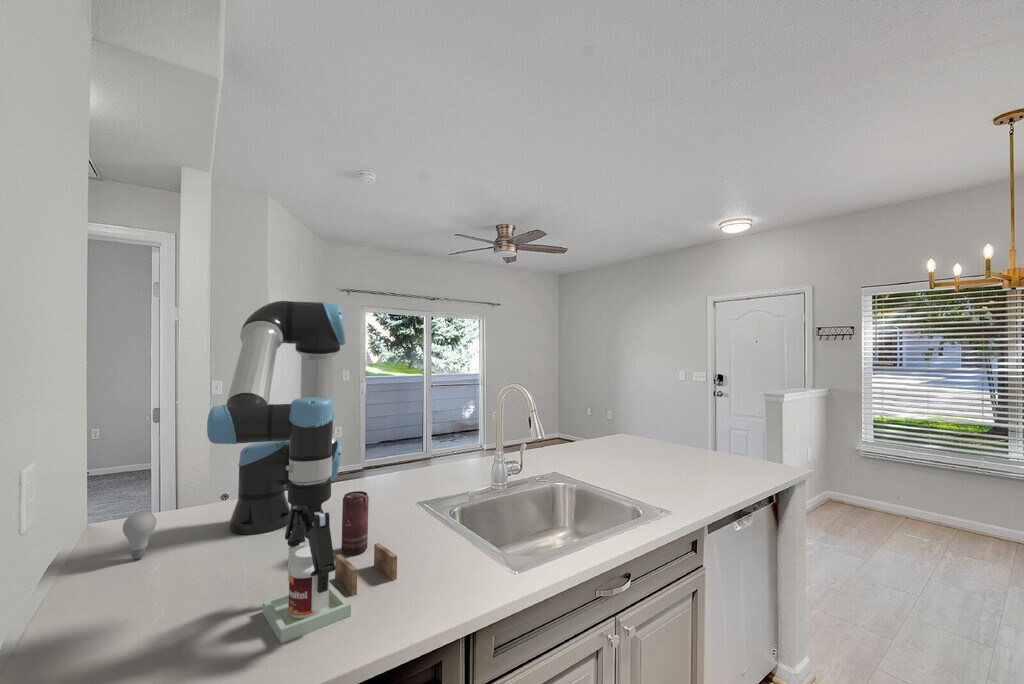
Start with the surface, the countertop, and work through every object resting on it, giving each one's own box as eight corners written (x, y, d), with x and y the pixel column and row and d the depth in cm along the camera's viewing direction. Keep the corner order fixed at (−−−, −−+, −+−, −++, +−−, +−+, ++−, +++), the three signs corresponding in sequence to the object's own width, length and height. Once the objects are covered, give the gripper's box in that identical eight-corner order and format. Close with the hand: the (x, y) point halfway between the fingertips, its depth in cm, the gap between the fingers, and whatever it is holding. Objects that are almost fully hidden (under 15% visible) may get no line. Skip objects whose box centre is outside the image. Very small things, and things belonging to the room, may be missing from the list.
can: (359, 557, 106) (361, 499, 106) (336, 554, 107) (337, 496, 108) (372, 546, 112) (374, 491, 112) (350, 544, 113) (351, 489, 114)
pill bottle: (280, 615, 81) (282, 554, 82) (307, 598, 87) (308, 542, 87) (305, 623, 79) (307, 561, 79) (331, 605, 85) (333, 547, 85)
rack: (334, 578, 96) (335, 555, 96) (377, 564, 103) (378, 542, 103) (352, 595, 89) (352, 570, 89) (396, 579, 96) (397, 556, 96)
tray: (262, 612, 83) (262, 601, 83) (326, 590, 91) (327, 579, 91) (281, 643, 74) (281, 631, 74) (350, 615, 82) (351, 604, 82)
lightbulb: (114, 562, 102) (116, 514, 102) (144, 551, 108) (146, 506, 108) (131, 567, 100) (133, 518, 100) (161, 555, 105) (162, 509, 106)
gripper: (270, 469, 90) (266, 574, 89) (312, 500, 72) (308, 632, 71) (308, 463, 95) (305, 563, 95) (357, 491, 77) (353, 614, 76)
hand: (307, 593), depth 83 cm, fingers open, 13 cm apart
